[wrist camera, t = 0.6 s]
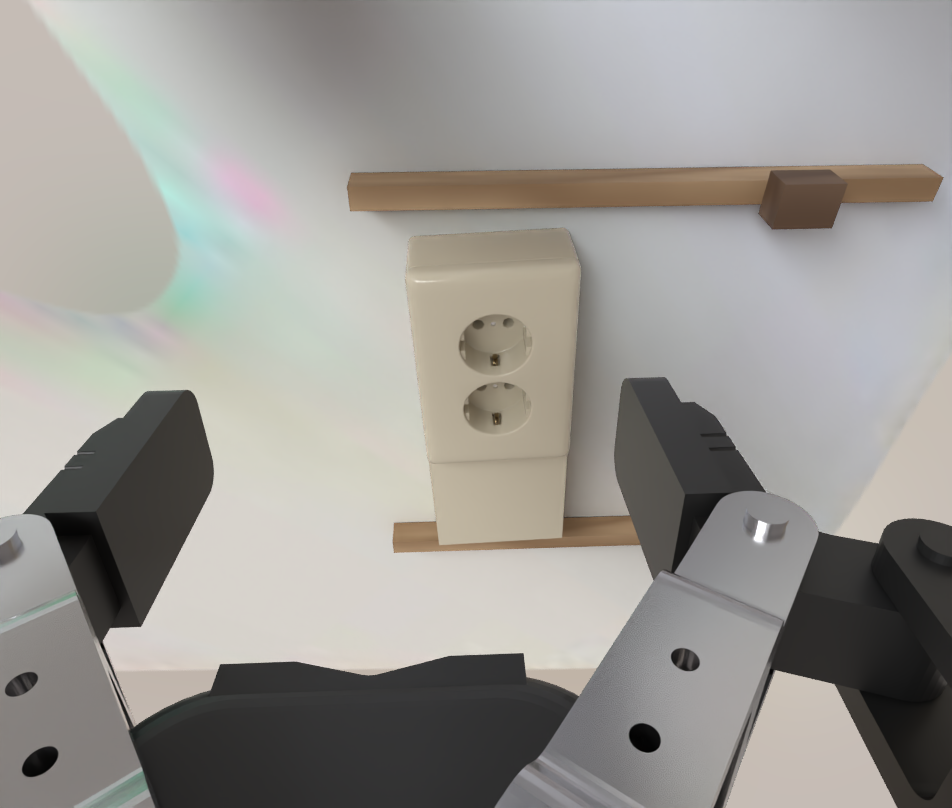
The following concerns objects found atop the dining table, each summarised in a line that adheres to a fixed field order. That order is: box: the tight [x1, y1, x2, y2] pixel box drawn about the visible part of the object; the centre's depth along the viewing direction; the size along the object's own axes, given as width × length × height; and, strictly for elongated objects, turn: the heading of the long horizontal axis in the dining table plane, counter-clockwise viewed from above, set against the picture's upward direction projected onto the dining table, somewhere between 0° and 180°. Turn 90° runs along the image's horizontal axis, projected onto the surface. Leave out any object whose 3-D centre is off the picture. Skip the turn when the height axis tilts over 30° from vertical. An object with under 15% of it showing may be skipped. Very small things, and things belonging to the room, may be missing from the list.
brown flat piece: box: [347, 164, 944, 553], centre depth 34 cm, size 24×24×3 cm
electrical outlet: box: [405, 228, 581, 545], centre depth 33 cm, size 7×4×18 cm
